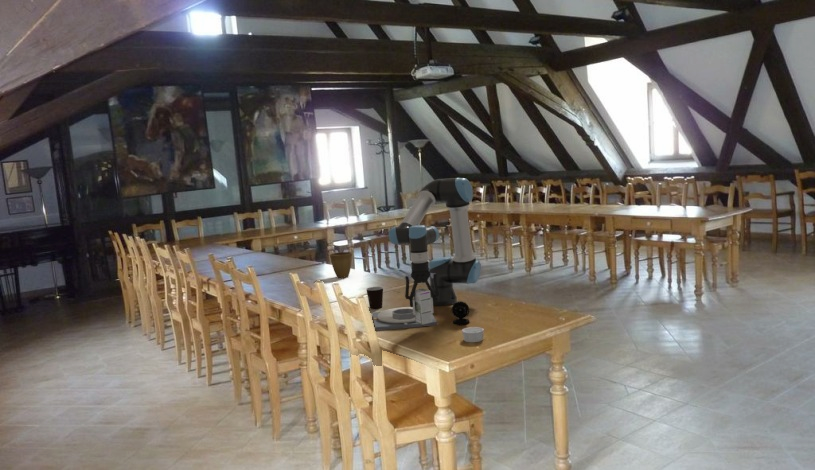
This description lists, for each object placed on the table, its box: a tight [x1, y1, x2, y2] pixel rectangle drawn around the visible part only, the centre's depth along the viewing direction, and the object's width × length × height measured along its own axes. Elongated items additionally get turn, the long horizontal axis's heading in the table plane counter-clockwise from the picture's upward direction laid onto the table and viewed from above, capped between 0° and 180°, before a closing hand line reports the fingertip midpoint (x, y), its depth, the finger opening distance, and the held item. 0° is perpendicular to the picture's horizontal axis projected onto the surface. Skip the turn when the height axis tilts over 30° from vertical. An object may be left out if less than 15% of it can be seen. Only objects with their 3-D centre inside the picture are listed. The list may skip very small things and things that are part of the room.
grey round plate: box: [378, 306, 416, 323], centre depth 296 cm, size 24×24×4 cm
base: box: [372, 311, 438, 331], centre depth 296 cm, size 28×28×2 cm
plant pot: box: [329, 251, 353, 279], centre depth 416 cm, size 15×15×16 cm
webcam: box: [451, 301, 471, 326], centre depth 284 cm, size 8×8×10 cm
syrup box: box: [413, 288, 433, 324], centre depth 274 cm, size 6×6×14 cm
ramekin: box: [461, 326, 485, 343], centre depth 258 cm, size 9×9×4 cm
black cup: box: [366, 286, 384, 310], centre depth 326 cm, size 12×9×10 cm
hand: (423, 313), depth 275 cm, fingers closed on syrup box, 7 cm apart
